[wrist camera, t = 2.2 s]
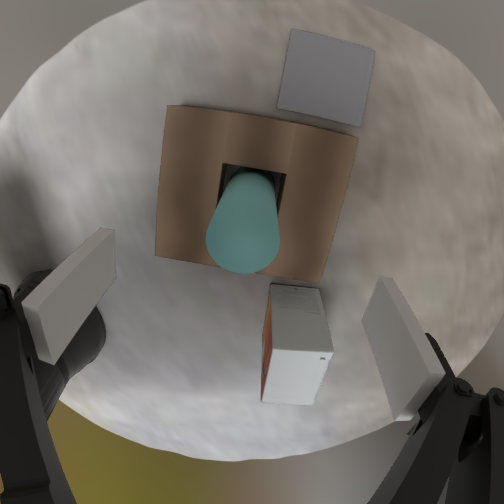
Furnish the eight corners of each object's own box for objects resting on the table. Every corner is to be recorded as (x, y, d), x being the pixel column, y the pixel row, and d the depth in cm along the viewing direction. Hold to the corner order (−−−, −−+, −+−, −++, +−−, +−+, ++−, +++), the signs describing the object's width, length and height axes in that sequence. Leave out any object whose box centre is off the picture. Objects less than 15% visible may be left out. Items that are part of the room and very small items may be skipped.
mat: (276, 108, 27) (276, 108, 27) (291, 30, 24) (291, 28, 23) (358, 127, 28) (360, 127, 27) (373, 51, 24) (375, 50, 24)
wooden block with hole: (166, 239, 33) (154, 255, 30) (179, 105, 27) (167, 105, 24) (314, 263, 34) (319, 283, 30) (346, 134, 28) (358, 138, 24)
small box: (270, 281, 35) (271, 346, 26) (319, 287, 35) (336, 351, 26) (260, 336, 39) (259, 403, 29) (305, 340, 39) (313, 406, 29)
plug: (225, 204, 32) (202, 267, 20) (232, 161, 30) (210, 199, 18) (269, 212, 32) (272, 278, 20) (277, 169, 30) (286, 213, 18)
